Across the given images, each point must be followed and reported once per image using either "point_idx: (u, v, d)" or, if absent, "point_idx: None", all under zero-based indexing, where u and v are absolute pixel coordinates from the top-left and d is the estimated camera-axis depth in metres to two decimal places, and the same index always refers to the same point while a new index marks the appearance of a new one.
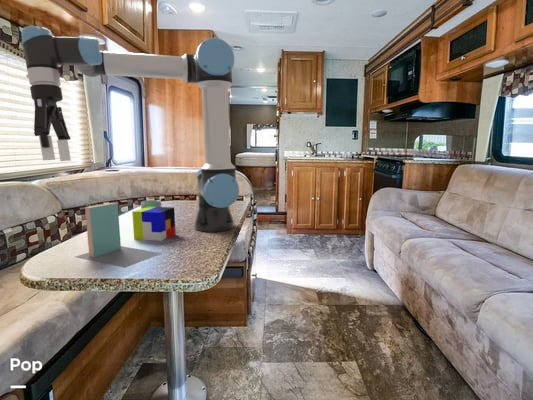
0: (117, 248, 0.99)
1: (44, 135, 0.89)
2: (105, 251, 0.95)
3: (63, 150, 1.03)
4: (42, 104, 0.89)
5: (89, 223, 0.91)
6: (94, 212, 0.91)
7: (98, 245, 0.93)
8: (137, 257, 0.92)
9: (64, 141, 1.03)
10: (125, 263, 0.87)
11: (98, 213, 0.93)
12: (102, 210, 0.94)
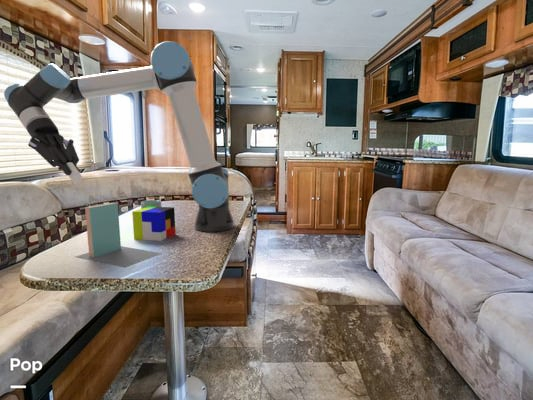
0: (117, 248, 0.99)
1: (61, 164, 0.97)
2: (105, 251, 0.95)
3: None
4: (34, 143, 0.95)
5: (89, 223, 0.91)
6: (94, 212, 0.91)
7: (98, 245, 0.93)
8: (137, 257, 0.92)
9: None
10: (125, 263, 0.87)
11: (98, 213, 0.93)
12: (102, 210, 0.94)
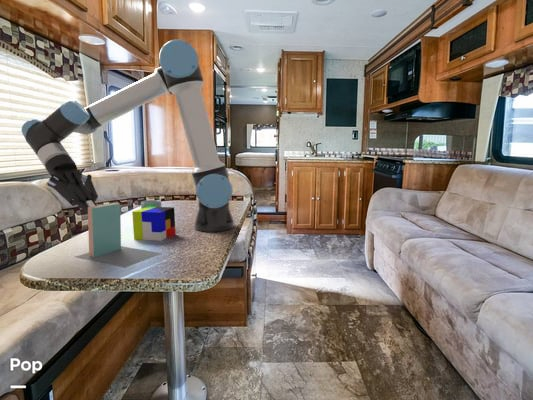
0: (117, 248, 0.99)
1: (81, 203, 0.95)
2: (105, 251, 0.95)
3: None
4: (54, 182, 0.93)
5: (91, 223, 0.91)
6: (96, 212, 0.91)
7: (99, 245, 0.93)
8: (137, 257, 0.92)
9: None
10: (125, 263, 0.87)
11: (100, 213, 0.92)
12: (104, 210, 0.93)
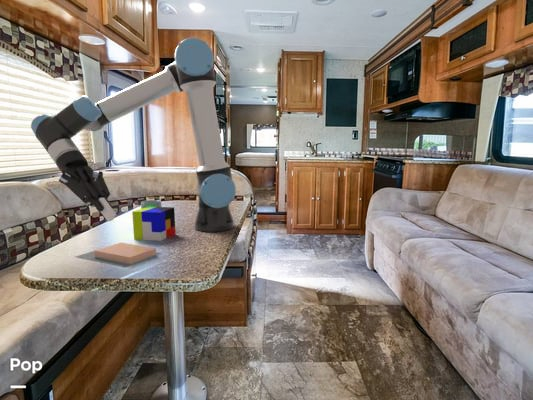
0: None
1: (94, 200, 0.93)
2: None
3: None
4: (66, 179, 0.91)
5: (118, 259, 0.88)
6: None
7: None
8: None
9: None
10: None
11: None
12: None
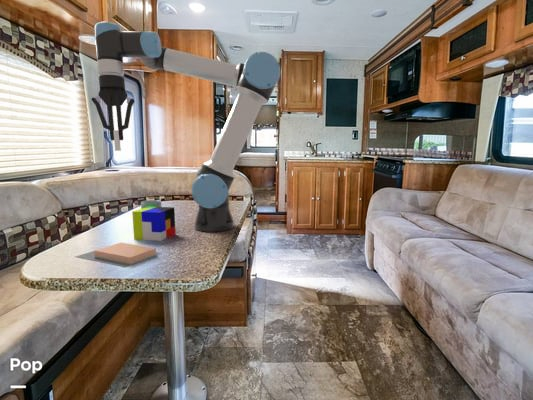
0: None
1: (109, 130, 1.07)
2: None
3: None
4: (94, 103, 1.05)
5: (118, 259, 0.88)
6: None
7: None
8: None
9: None
10: None
11: None
12: None
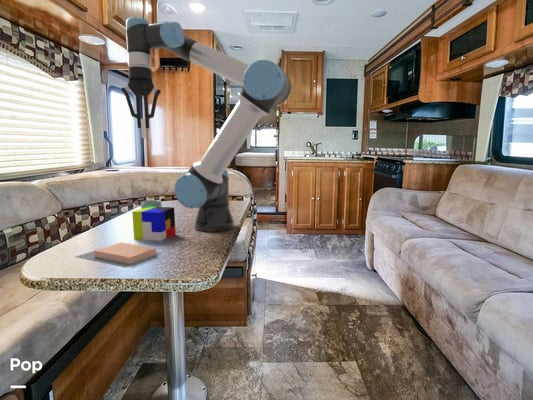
0: None
1: None
2: None
3: None
4: None
5: (118, 259, 0.88)
6: None
7: None
8: None
9: None
10: None
11: None
12: None
